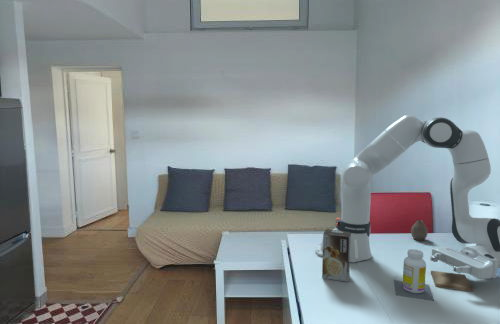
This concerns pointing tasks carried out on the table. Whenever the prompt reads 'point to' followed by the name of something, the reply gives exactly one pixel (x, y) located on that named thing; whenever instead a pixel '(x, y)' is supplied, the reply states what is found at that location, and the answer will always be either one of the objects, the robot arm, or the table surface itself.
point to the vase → (419, 230)
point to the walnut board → (451, 280)
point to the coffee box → (336, 255)
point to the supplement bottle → (414, 272)
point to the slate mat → (402, 292)
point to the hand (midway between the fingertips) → (443, 264)
